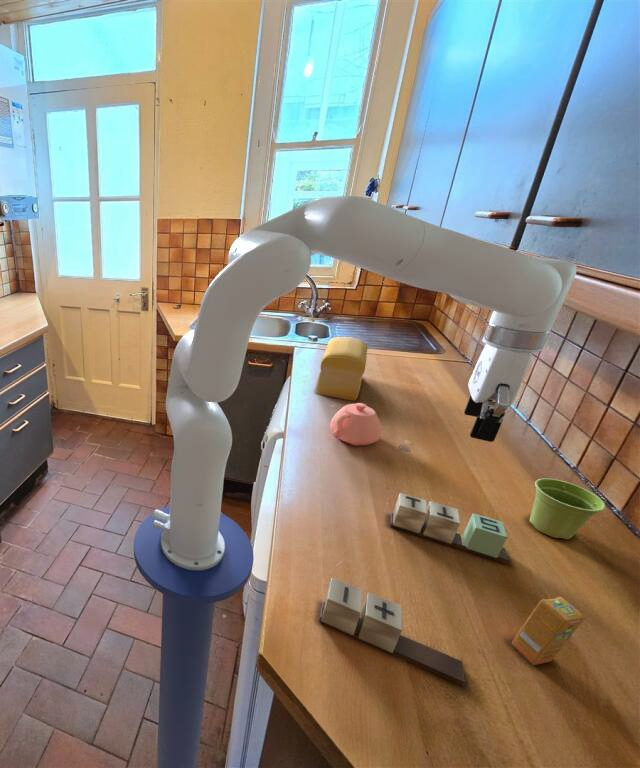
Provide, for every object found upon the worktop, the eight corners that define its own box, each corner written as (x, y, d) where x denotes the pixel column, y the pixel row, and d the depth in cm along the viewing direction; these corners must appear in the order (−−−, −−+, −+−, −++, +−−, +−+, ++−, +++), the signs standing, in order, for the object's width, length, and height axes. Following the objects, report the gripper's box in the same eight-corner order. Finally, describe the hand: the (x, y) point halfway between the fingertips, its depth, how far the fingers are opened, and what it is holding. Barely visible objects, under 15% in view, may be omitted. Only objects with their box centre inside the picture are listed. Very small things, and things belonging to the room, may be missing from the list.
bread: (323, 369, 156) (330, 332, 150) (360, 375, 150) (370, 337, 144) (314, 393, 137) (322, 351, 131) (357, 401, 131) (368, 358, 125)
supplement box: (534, 668, 57) (566, 620, 52) (510, 643, 60) (537, 597, 56) (554, 663, 57) (587, 616, 53) (529, 640, 60) (558, 593, 56)
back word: (389, 528, 81) (397, 504, 78) (390, 514, 84) (398, 491, 82) (507, 566, 72) (520, 541, 70) (502, 549, 76) (515, 524, 73)
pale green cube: (466, 548, 75) (475, 527, 73) (463, 533, 78) (472, 512, 76) (497, 558, 73) (507, 536, 70) (492, 542, 76) (503, 521, 74)
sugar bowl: (388, 443, 108) (399, 410, 104) (350, 455, 104) (359, 421, 99) (350, 422, 119) (357, 391, 115) (313, 432, 114) (320, 400, 110)
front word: (318, 624, 63) (325, 597, 60) (322, 602, 66) (329, 576, 64) (463, 691, 54) (478, 662, 52) (459, 661, 57) (474, 633, 55)
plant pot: (527, 505, 86) (543, 472, 83) (589, 533, 79) (611, 497, 75) (511, 523, 82) (528, 489, 78) (576, 554, 74) (598, 518, 71)
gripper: (478, 321, 75) (448, 403, 82) (493, 347, 62) (456, 442, 69) (532, 327, 71) (496, 413, 78) (560, 356, 58) (513, 456, 65)
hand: (477, 426), depth 74 cm, fingers open, 9 cm apart
